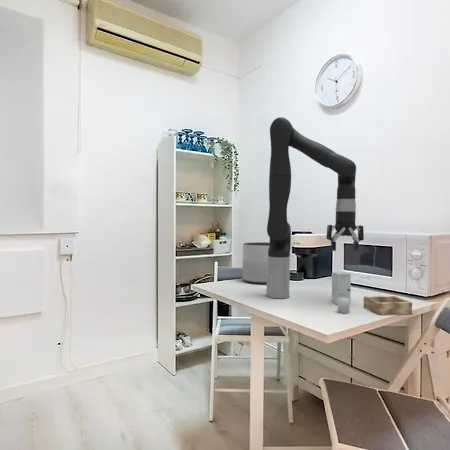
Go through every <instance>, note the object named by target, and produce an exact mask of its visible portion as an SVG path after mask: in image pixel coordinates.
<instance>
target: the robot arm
mask: <svg viewBox="0 0 450 450" xmlns="http://www.w3.org/2000/svg"><path fill="white" fill-rule="evenodd" d="M269 138H270V160H269V177H268V194H269V195H268V200H269V207H268V208H269V210H268V219H267V225H266V232H267V236H268V237H269V243H270V244H269V249H268V273H267V284H266V296H267V297H268V298H271V299H272V298H273V299H287V298H288V299H289V298H290V293H291V292H290V278H291V277H290V276H291V275H290V274H291V273H290V269H291V267H290V265H291V263H290V261H291V260H290V259H291V258H290V257H291V256H290V255H291V243H292V242H291V241H292V240H291V239H292V228H291V225H290V223H289V222H288V204H289V200H290V194H291V188H292V167H291V159H290V154H289V152H290V150H289V147H291V148H293V149H294V150H297V151H298V152H301V153H302V154H304V155H306V156H307V157H308V158H310V159H311V160H313V161H314V162H316V163H317V164H319V165H321V166H323V167H325V168H328V169H330V170H331V171H333V172H334V173H336V174H337V188H336V204H335V224H334V225H332V224H327V227H326V238H325V239H326V240H329V241H330V249H331V250H332V252H336V251H337V242H336V241H337V240H338V238H339V237H341V236H342V237H344V236H346V237H351V238H352V240H353V245H352V247H353V248H352V251H353V252H358V250H359V242H362V241H364V239H365V238H364V237H365V235H364V225H356V214H357V213H356V211H357V208H356V207H357V205H356V204H357V202H356V176H357V165H356V163H355V162H354V161H353V160H351V159H350V158H348V157H346V156H343V155H341V154H339V153H337V152H336V151H334V150H332V149H331V148H329V147H327V146H325V145H324V144H322V143H320V142H317V141H315V140H312V139H310V138H308V137H306V136H304V135H303V134H302V133H300V132H299V131H298V130H296V129H295V128H294V127H293V125H292V123H291V122H290V120H289V119H287V118H285V117H282V116H280V117H276V118H275V119H274V120H272V122H271V124H270V127H269ZM334 230H335V232H334V234H333V231H334ZM355 231H357V234H356V233H355Z"/></svg>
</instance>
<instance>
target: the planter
mask: <svg viewBox="0 0 450 450" xmlns="http://www.w3.org/2000/svg"><path fill="white" fill-rule="evenodd" d="M269 244H270V242H261V241H260V242H245V243H242V268H241V269H242V270H241V271H242V272H241V274H242V276H241V277H242V280H243V281H244V282H247V283H249V284H254V285H267V273H268V249H269Z"/></svg>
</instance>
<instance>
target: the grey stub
mask: <svg viewBox="0 0 450 450" xmlns="http://www.w3.org/2000/svg"><path fill="white" fill-rule="evenodd" d="M349 301H350V302H351V298H350V299H349V298H346V297H338V304H337V313H338V314H343V315H348V314H350V304H349Z"/></svg>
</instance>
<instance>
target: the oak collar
mask: <svg viewBox="0 0 450 450" xmlns="http://www.w3.org/2000/svg"><path fill="white" fill-rule="evenodd" d="M363 308H365V309H366V310H368V311H370V312H372V313H374V314H376V315H378V316H385V315H386V316H387V315H391V316H392V315H395V316H396V315H413V302H411V301H408V300H407V299H403V298H401V297H398V296H396V295H387V296H386V295H380V296H379V295H378V296H377V295H375V296H363Z"/></svg>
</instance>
